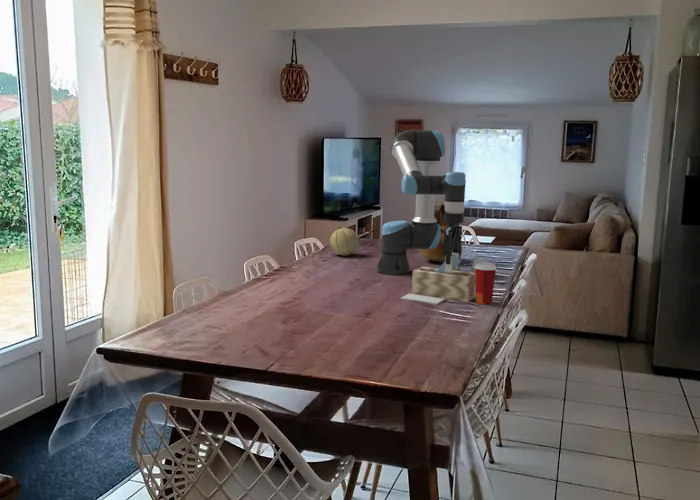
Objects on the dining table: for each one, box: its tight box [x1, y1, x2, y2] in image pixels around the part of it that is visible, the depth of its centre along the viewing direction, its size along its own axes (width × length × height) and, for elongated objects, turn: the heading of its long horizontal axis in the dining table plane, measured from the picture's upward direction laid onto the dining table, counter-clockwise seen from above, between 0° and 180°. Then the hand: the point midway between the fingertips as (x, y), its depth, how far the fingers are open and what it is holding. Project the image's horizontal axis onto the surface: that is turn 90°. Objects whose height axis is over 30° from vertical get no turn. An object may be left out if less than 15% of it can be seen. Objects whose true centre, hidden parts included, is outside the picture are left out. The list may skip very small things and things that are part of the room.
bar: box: [436, 254, 462, 274], centre depth 257 cm, size 17×4×4 cm
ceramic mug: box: [471, 258, 492, 273], centre depth 294 cm, size 11×8×8 cm
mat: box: [400, 293, 446, 306], centre depth 251 cm, size 8×15×1 cm, turn 61°
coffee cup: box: [474, 262, 497, 306], centre depth 246 cm, size 8×8×15 cm
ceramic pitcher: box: [421, 201, 463, 263], centre depth 324 cm, size 20×20×30 cm
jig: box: [411, 266, 476, 303], centre depth 257 cm, size 23×10×10 cm, turn 61°
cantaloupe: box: [329, 226, 359, 257], centre depth 337 cm, size 15×15×15 cm
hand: (451, 270), depth 255 cm, fingers open, 6 cm apart
